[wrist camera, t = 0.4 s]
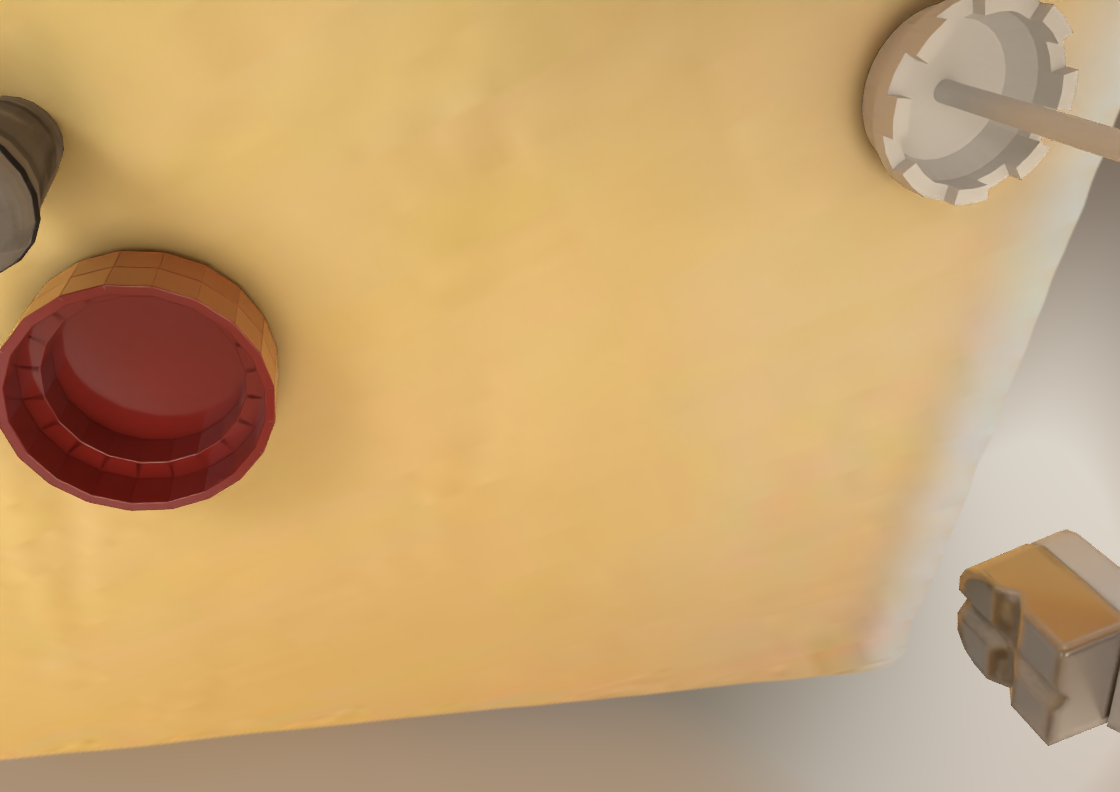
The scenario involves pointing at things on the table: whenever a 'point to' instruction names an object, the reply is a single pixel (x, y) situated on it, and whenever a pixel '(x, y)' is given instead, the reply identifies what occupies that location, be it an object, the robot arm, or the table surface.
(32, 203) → the beverage cup
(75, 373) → the bowl
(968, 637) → the robot arm
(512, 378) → the table surface
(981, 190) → the flag stand
